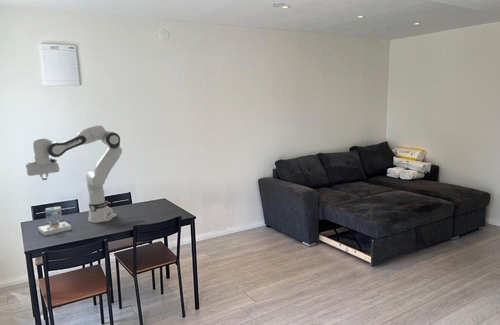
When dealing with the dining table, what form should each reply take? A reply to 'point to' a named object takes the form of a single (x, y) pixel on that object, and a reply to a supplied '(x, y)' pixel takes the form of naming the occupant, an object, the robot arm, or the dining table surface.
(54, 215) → the breaker lever
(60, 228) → the switch panel
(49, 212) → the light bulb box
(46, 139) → the robot arm
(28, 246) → the dining table surface
